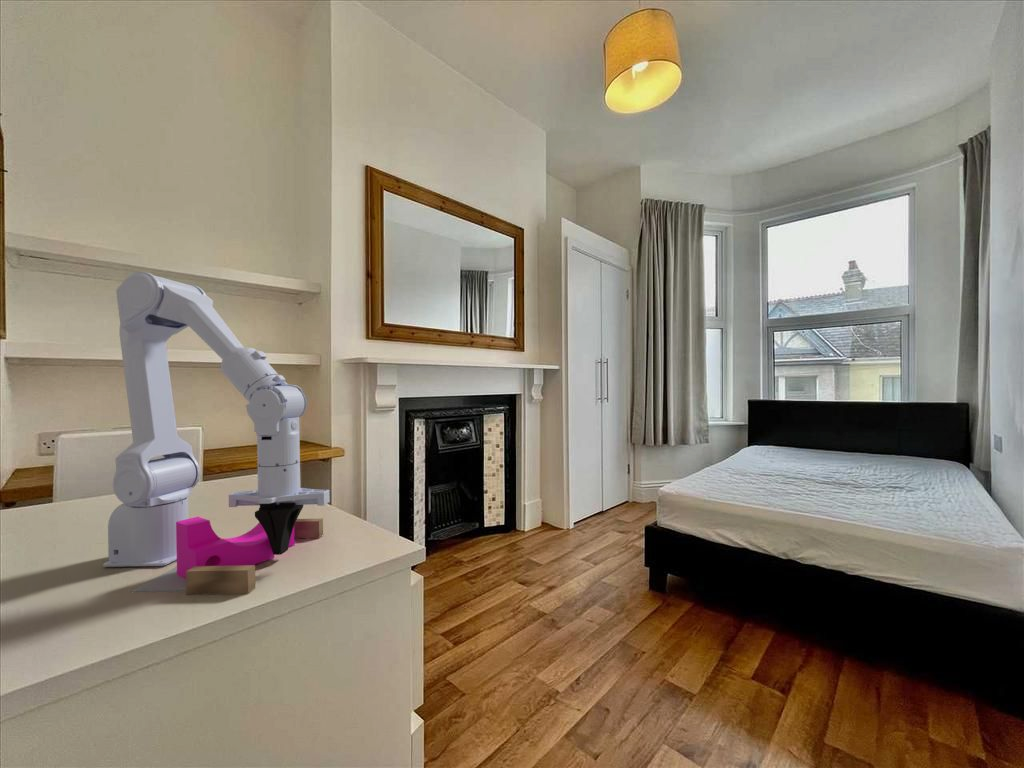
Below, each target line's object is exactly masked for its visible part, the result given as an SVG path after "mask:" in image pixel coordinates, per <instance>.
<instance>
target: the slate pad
mask: <svg viewBox="0 0 1024 768" xmlns="http://www.w3.org/2000/svg"><path fill="white" fill-rule="evenodd" d="M157 592H158V593H159V592H160V593H163V592H166V593H167V592H169V593H170V592H171V593H172V592H177V593H178V592H186V579H184V578H182V577H181V576H179V575H177V566H176V567H174V568H172V569H169V570H168V571H165V572H164V573H162V574H160V575H159V576H157V577H155V578H153V579H151V580H149V581H146V582H145V583H144V584H142V585H140V586H137V587H136V588H134V589H132V590H131V592H130V593H157Z"/></svg>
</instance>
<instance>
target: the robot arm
mask: <svg viewBox="0 0 1024 768" xmlns="http://www.w3.org/2000/svg"><path fill="white" fill-rule="evenodd" d="M115 293H116V301H117V307H118V309H117V310H118V317H119V340H120V349H121V356H122V364H123V374H124V379H125V388H126V389H125V390H126V396H127V403H128V413H129V420H130V428H131V436H132V437H131V438H132V443H130V445H128V447H126V448H125V449H124V450H123V451H122V452H120V453H119V454H118V455H117V456H116V457H115V459H114V460H115V472H114V476H113V479H112V489H113V492H114V496H116V498H117V499H118V500H119V501H120V502H121V504H119V505H118V506H116V507H115V509H114V510H113V511H112V512H111V514H110V516H109V518H108V523H107V542H108V544H107V547H108V549H107V550H108V551H107V552H108V554H107V555H108V561H106V562H104V563H103V565H102V567H104V568H107V567H110V568H112V567H113V568H114V567H116V568H117V567H163V566H166V565H167V566H168V564H171V563H173V562H175V561H177V547H176V522H177V521H181V520H186V519H190V517H189V496H191V495H193V488H195V487H196V486H197V485H198V482H199V481H200V478H201V467H200V464H199V462H198V460H197V459H196V458H195V456H194V451H193V446H192V445H191V444H190V443H188V442H187V441H185V440H183V438H181V437H180V436H178V429H177V421H176V414H175V404H174V398H173V397H174V396H173V390H172V389H173V388H172V382H171V373H170V365H169V358H168V350H167V341H169V339H170V338H172V336H174V335H177V334H179V333H180V332H182V331H184V330H185V329H187V328H188V327H189V328H190V329H191V330H192V331H194V332H195V334H196V335H197V336H198V337H199V338H201V340H202V341H203V342H204V343H205V344H206V345H207V346H208V347H209V348H210V349H211V350H213V352H214V353H215V354H216V355H217V356H218V357H219V358H220V359H221V365H220V371H221V373H223V374H224V375H225V377H226V378H227V379H228V380H229V381H230V383H232V385H233V386H234V387H235V389H237V391H238V392H240V394H241V395H242V396H243V397H244V399H245V400H246V401H247V402H248V404H246V405H245V408H246V411H247V415H248V416H249V418H250V420H251V421H252V422H253V427H254V429H253V430H254V432H255V434H256V450H257V451H256V452H257V453H256V456H257V459H256V460H257V490H256V489H253V490H240V491H235V492H233V493H232V492H231V493H229V494H228V507H229V508H237V507H242V506H243V507H245V506H247V507H248V506H252V507H253V506H259V508H258V509H257V510H256V511H255V512H254V517H255V519H256V520H257V521H258V523H259V522H260V524H261V525H262V527H263V528H264V530H265V532H266V534H267V537H268V539H269V542H270V545H271V548H272V552H273V555H274V556H276V555H279V556H280V555H283V554H284V553H286V552H287V551H288V550H289V547H290V546H289V542H290V538H291V534H292V531H293V528H294V525H295V522H296V520H297V519H299V515H300V514H301V512H302V510H303V508H304V505H316V506H319V507H320V506H325V505H327V504H328V503H330V499H331V498H330V489H316V488H315V489H314V488H307V487H306V488H305V487H301V449H300V448H301V447H300V446H301V444H300V439H301V438H300V418H301V417H302V416H303V415H304V414H305V413H306V409H307V406H308V404H307V403H308V402H307V398H306V395H305V393H304V392H303V389H302V388H301V387H300V386H299V385H295V384H289V383H287V382H286V378H285V376H283V375H282V374H278V372H277V371H276V370H275V368H273V367H272V365H271V364H270V363H269V362H268V361H267V358H268V356H267V355H266V354H265V352H264V351H263V350H257V349H255V348H253V347H244V345H243V344H242V343H241V342H240V340H239V339H238V337H236V336H235V334H234V333H233V332H232V330H231V328H229V326H228V325H227V323H226V322H225V321H224V319H223V318H222V317H221V315H220V314H219V313H218V312H217V310H216V309H215V308H214V300H213V299H212V298H210V297H209V296H208V295H207V294H206V292H205V290H204V289H203V288H201V287H199V286H198V285H195V284H191V283H190V284H188V283H184V282H180V281H176V280H172V279H169V278H165V277H162V276H157V275H154V274H152V273H151V272H147V271H144V270H141V271H135V272H133V273H130V274H129V275H128V276H127V277H126V278H125V279H124V281H123V282H121V284H119V286H118V287H117V288H116V290H115ZM160 456H161V458H160ZM155 457H159V458H156V459H152V458H155Z"/></svg>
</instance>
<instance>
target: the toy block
mask: <svg viewBox="0 0 1024 768" xmlns="http://www.w3.org/2000/svg"><path fill="white" fill-rule="evenodd" d="M294 545H295V539H294V528H293V531H292V534H291V538H290V542H289V547H293V546H294ZM176 547H177V560H176V567H177V575H179V576H181V577H182V578H184V579H186V571H187V570H189V569H191V568H193V567H194V566H243V565H255V566H256V565H257V564H260V563H263V562H265V561H268V560H272V559H275V555H273V552H272V548H271V545H270V542H269V539H268V537H267V534H266V532H265V530H264V528H263V527H262V525H261V524H260V522H259V521H258V523H257V524H256V525H255V526H254V527H253V528H252V529H250V530H249V531H247V532H245V533H244V534H241V535H238V536H235V537H229V538H222V537H219V535H217V533H216V532H215V530H213V528H212V524H211V521H210V520H209V519H205V518H204V517H200V516H194V517H191V518H190V517H189V519H186V520H181V521H177V522H176Z"/></svg>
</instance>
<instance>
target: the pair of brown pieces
mask: <svg viewBox="0 0 1024 768" xmlns="http://www.w3.org/2000/svg"><path fill="white" fill-rule="evenodd" d="M322 535H323V536H324V518H321V517H320V518H297V520H296V522H295V525H294V540H295V539H296V540H297V539H298V538H311V539H321V538H322V537H323V536H322ZM321 536H322V537H321ZM255 589H256V564H255V565H243V566H194V567H193V568H191V569H189V570H187V571H186V591H185V592H186V593H185V594H186V595H189V596H190V595H193V596H194V595H241V594H242V595H244V594H245V595H247V594H250V593H251V592H253V590H255Z"/></svg>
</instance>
